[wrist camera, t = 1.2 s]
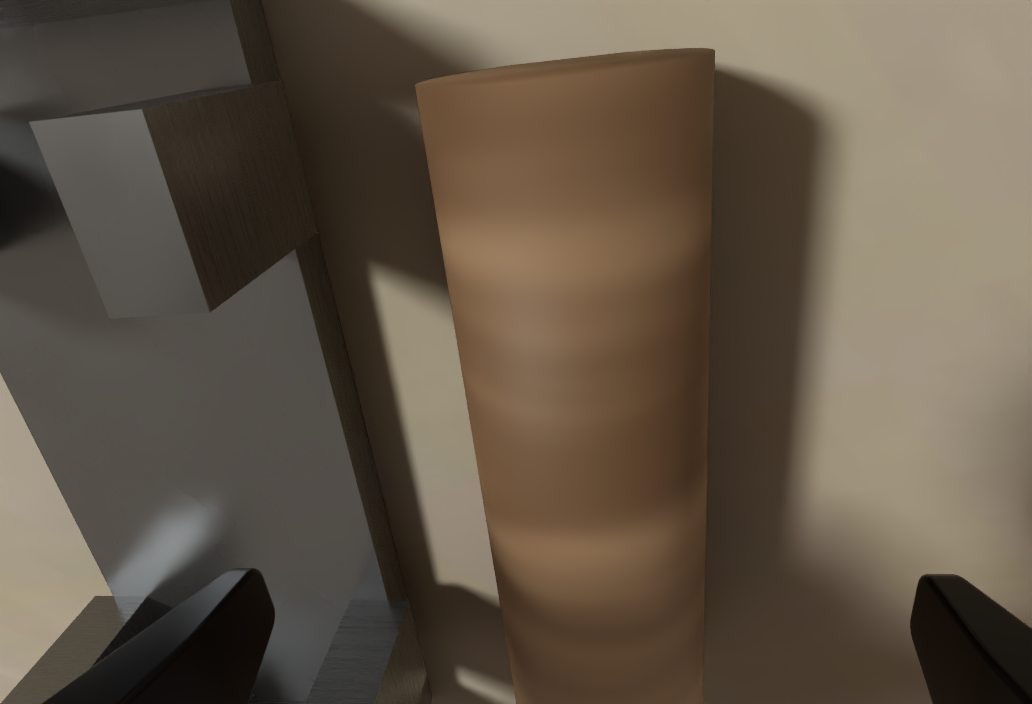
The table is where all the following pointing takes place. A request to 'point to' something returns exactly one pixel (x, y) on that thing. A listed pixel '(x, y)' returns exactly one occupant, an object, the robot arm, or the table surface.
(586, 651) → the cylinder
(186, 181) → the cradle
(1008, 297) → the table surface
